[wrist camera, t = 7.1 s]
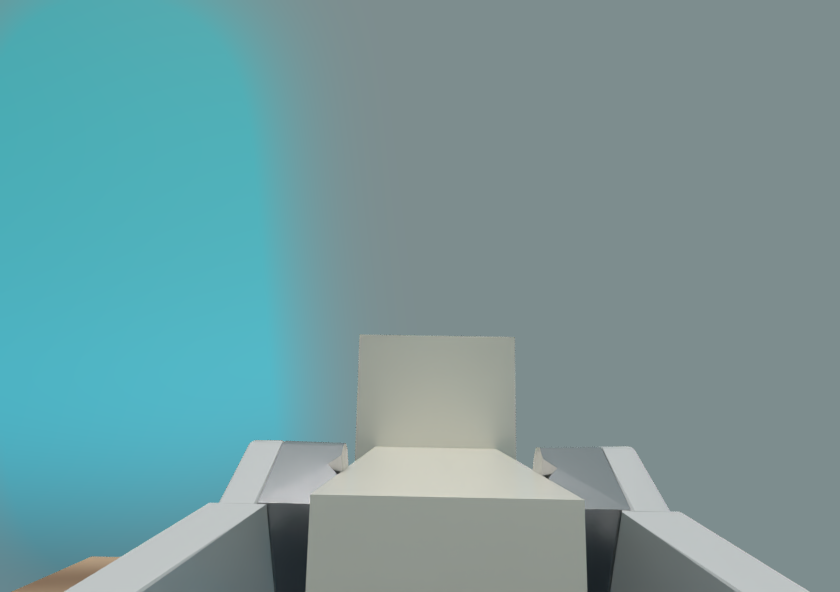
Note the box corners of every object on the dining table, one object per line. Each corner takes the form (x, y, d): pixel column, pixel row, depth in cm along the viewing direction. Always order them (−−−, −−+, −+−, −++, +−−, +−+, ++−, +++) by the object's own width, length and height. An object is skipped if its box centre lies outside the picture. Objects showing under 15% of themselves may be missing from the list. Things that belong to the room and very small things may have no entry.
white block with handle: (636, 620, 6) (619, 252, 7) (258, 611, 6) (280, 247, 7) (490, 473, 21) (490, 357, 21) (374, 471, 21) (378, 355, 21)
